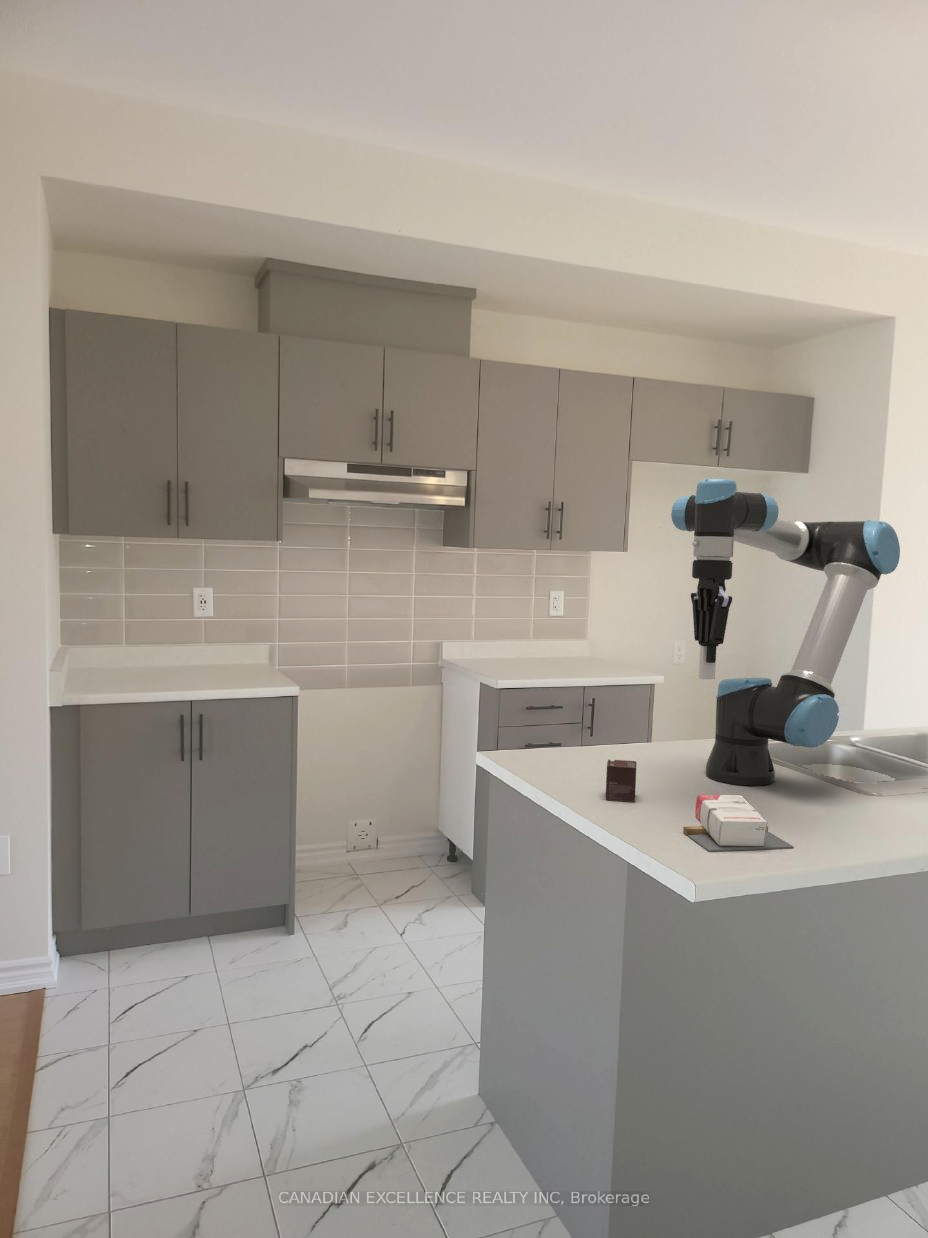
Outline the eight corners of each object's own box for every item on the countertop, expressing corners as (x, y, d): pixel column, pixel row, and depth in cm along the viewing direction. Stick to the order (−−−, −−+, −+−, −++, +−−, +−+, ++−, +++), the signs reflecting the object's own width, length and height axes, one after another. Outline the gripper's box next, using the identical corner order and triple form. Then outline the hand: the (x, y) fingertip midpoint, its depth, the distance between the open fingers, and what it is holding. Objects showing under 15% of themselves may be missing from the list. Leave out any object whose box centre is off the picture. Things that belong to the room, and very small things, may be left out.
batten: (763, 830, 161) (763, 823, 161) (767, 832, 160) (768, 826, 160) (683, 833, 158) (683, 826, 158) (686, 835, 157) (687, 829, 157)
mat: (769, 833, 159) (769, 832, 159) (793, 848, 151) (793, 846, 151) (688, 836, 156) (688, 835, 156) (708, 852, 148) (708, 850, 148)
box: (635, 803, 177) (636, 767, 176) (605, 800, 178) (606, 765, 178) (635, 795, 183) (636, 760, 182) (606, 792, 184) (607, 758, 184)
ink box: (693, 818, 162) (717, 847, 150) (696, 793, 161) (720, 820, 149) (738, 819, 162) (765, 848, 151) (742, 794, 161) (768, 821, 150)
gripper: (680, 558, 175) (674, 674, 177) (710, 558, 162) (704, 683, 164) (714, 559, 177) (709, 674, 178) (747, 559, 164) (740, 683, 166)
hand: (706, 678), depth 171 cm, fingers closed
